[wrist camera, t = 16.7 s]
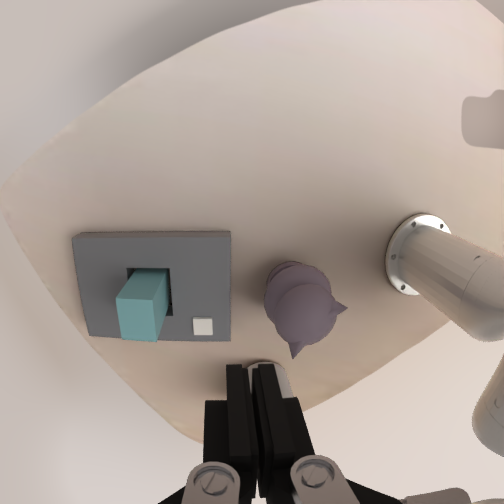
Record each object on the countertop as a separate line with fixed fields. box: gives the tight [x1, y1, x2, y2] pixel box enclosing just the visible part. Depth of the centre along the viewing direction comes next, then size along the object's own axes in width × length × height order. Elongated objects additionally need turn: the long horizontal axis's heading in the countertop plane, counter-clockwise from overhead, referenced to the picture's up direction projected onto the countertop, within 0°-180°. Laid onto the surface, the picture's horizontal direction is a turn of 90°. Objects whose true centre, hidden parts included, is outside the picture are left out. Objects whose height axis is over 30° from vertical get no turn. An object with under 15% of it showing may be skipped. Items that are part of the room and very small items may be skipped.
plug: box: [116, 268, 170, 342], centre depth 35 cm, size 4×5×10 cm
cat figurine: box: [264, 262, 347, 359], centre depth 35 cm, size 9×8×12 cm
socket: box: [72, 231, 231, 341], centre depth 38 cm, size 20×14×4 cm
